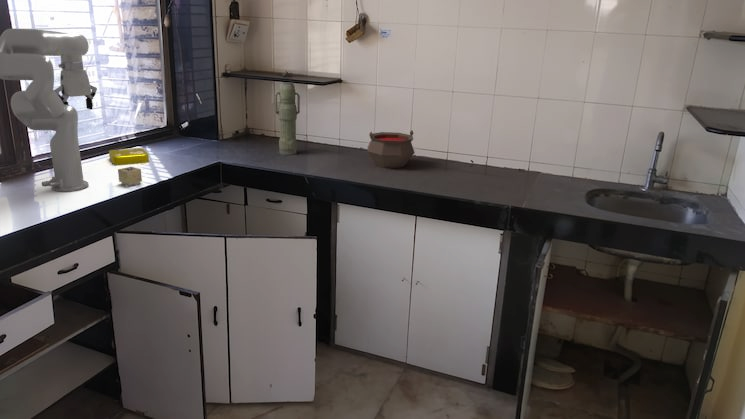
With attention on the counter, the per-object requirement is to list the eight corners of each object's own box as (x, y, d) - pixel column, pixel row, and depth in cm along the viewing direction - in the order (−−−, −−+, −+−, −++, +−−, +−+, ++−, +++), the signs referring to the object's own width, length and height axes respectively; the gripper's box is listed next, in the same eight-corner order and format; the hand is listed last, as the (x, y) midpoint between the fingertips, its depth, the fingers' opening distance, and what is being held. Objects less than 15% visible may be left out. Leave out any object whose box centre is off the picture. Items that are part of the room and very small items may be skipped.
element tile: (143, 156, 268) (142, 146, 266) (149, 163, 256) (149, 153, 254) (109, 159, 260) (107, 149, 259) (114, 166, 248) (113, 156, 247)
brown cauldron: (401, 157, 284) (403, 125, 279) (423, 168, 264) (426, 134, 258) (357, 160, 275) (358, 127, 270) (376, 172, 255) (378, 136, 249)
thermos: (301, 154, 281) (301, 83, 270) (277, 155, 278) (276, 83, 267) (298, 151, 289) (298, 81, 278) (275, 151, 286) (274, 81, 275)
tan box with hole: (128, 184, 219) (127, 171, 217) (119, 181, 222) (117, 169, 220) (141, 181, 223) (140, 169, 222) (132, 178, 226) (131, 166, 225)
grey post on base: (129, 186, 220) (127, 170, 217) (121, 183, 222) (119, 168, 220) (140, 183, 224) (138, 167, 221) (132, 181, 226) (131, 165, 224)
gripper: (55, 68, 213) (61, 113, 218) (98, 66, 226) (103, 109, 232) (45, 67, 217) (51, 111, 222) (88, 65, 230) (93, 107, 236)
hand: (78, 110), depth 227 cm, fingers open, 9 cm apart
